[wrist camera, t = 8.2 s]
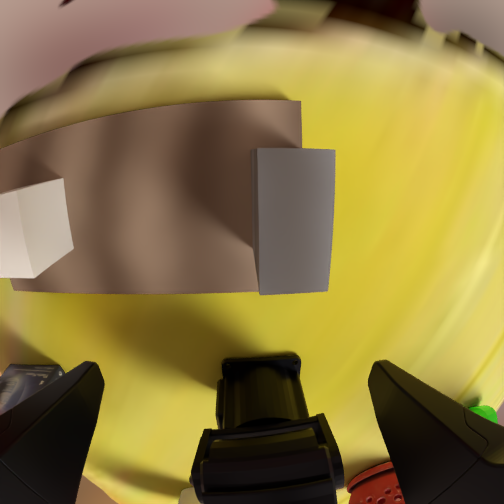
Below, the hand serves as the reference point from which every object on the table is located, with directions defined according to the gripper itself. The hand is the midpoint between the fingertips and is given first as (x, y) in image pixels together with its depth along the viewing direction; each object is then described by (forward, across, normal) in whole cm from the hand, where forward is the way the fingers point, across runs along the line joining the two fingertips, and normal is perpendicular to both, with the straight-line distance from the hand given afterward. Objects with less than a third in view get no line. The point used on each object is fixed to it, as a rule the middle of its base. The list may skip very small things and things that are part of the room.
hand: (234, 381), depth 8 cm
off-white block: (+10, +14, -3) cm, 18 cm away
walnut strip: (+12, +8, -3) cm, 15 cm away
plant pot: (+13, -23, +42) cm, 49 cm away
